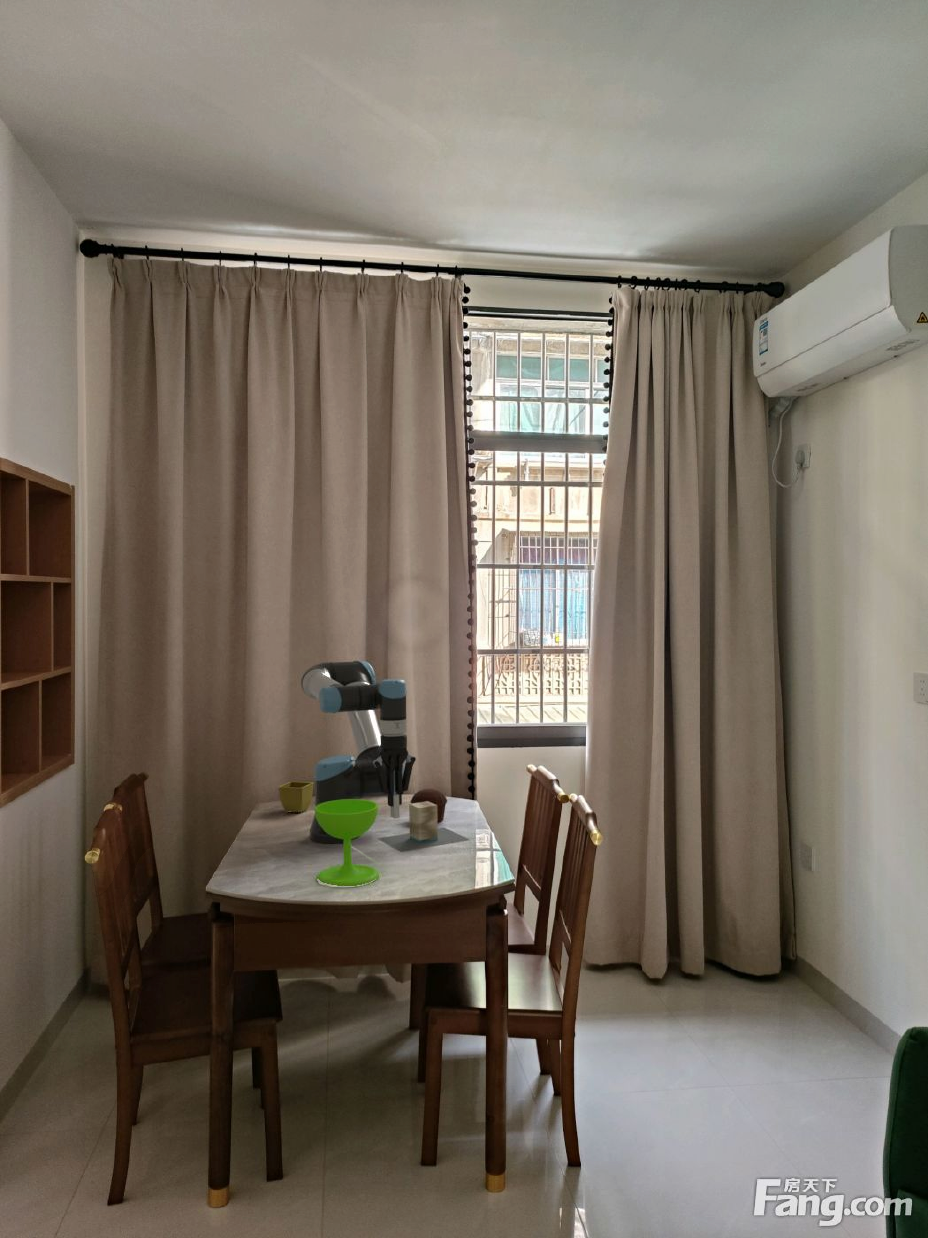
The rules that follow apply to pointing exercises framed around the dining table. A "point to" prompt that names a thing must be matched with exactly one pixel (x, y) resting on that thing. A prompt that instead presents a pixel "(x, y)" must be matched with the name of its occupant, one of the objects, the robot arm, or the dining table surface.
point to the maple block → (423, 822)
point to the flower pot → (296, 796)
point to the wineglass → (347, 838)
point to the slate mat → (407, 844)
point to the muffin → (432, 800)
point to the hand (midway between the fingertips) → (395, 817)
